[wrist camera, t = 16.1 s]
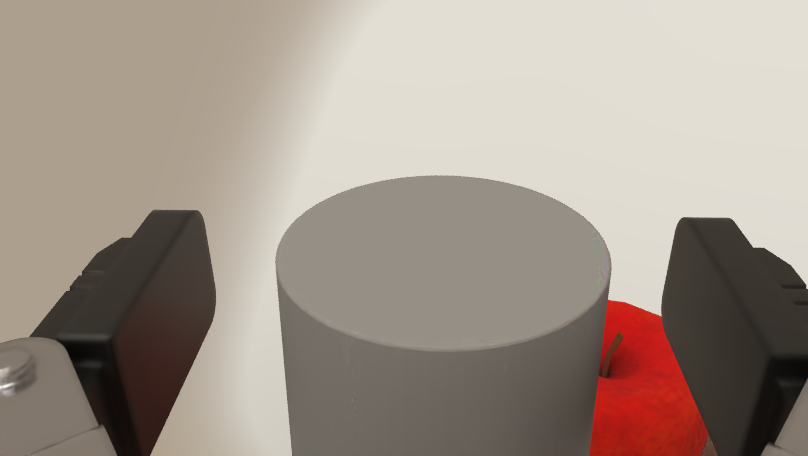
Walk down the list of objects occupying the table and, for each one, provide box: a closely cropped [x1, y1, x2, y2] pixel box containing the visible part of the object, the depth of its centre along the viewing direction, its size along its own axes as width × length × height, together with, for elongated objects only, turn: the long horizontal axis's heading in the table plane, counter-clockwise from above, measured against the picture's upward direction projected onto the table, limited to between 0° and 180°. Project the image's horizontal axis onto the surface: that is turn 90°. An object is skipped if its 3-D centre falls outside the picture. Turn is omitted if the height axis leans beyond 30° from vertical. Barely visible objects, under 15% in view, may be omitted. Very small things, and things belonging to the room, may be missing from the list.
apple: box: [589, 300, 709, 456], centre depth 32 cm, size 9×9×11 cm
